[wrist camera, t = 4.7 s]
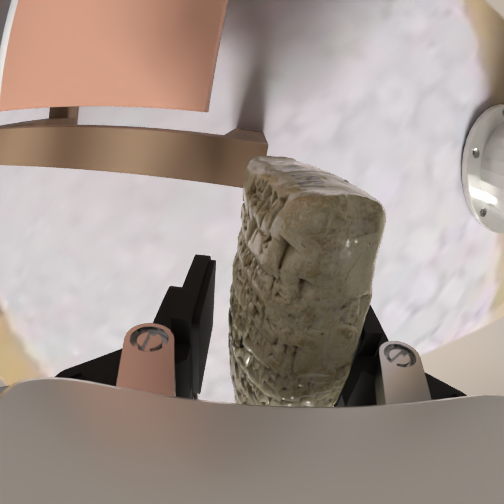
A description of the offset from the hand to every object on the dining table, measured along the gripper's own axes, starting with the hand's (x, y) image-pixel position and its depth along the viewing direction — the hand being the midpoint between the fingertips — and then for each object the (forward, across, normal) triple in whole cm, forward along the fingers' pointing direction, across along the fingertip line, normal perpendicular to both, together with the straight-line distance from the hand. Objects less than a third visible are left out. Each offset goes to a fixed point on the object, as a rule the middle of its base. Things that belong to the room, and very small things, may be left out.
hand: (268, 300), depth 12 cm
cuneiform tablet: (+1, 0, +1) cm, 1 cm away
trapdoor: (+6, +11, -15) cm, 20 cm away
